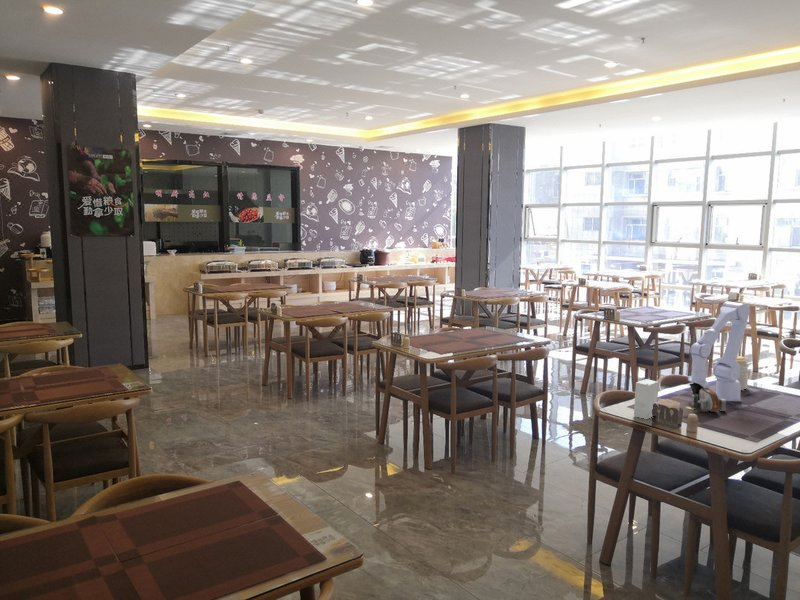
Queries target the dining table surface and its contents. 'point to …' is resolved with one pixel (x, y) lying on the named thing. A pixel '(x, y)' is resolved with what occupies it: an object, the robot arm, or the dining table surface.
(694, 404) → the collar
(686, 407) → the brass mark
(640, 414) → the skincare box
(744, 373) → the jar
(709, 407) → the bread slice
